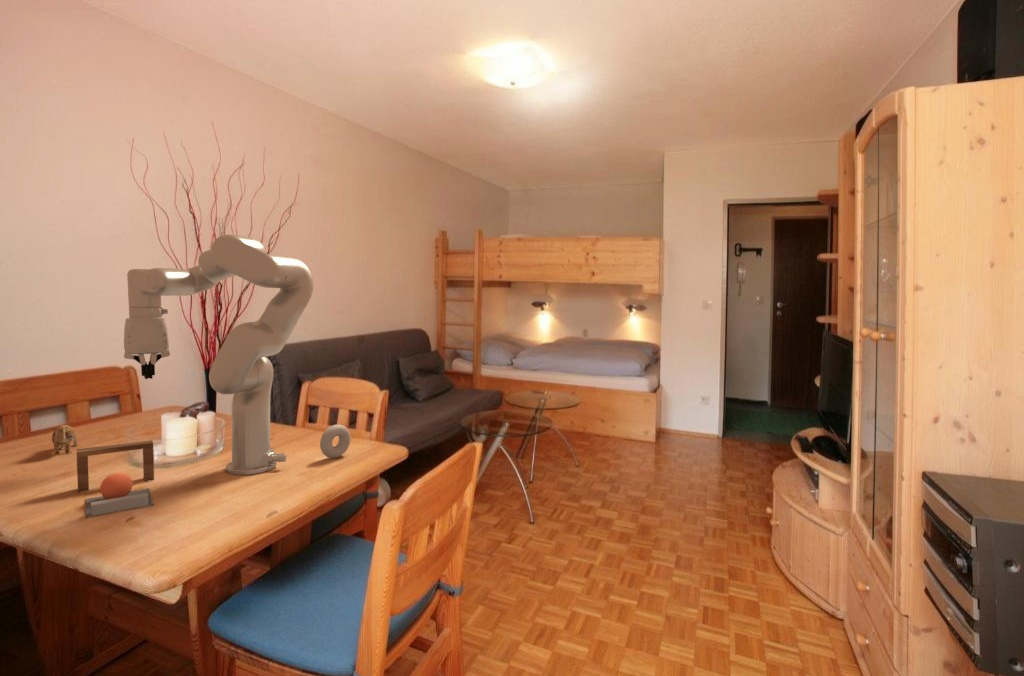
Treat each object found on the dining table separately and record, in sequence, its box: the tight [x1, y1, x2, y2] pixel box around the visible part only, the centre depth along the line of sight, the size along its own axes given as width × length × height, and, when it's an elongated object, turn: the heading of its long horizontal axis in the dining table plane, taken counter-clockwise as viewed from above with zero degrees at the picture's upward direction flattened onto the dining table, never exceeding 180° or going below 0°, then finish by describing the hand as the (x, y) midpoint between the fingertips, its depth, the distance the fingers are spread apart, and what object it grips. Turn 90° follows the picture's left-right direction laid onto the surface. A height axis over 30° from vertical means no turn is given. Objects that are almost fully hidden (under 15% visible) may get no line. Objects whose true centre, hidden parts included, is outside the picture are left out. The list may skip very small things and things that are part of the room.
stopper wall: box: [91, 493, 149, 517], centre depth 116 cm, size 2×10×2 cm, turn 129°
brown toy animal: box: [51, 424, 78, 457], centre depth 155 cm, size 15×5×9 cm, turn 37°
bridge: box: [76, 439, 155, 493], centre depth 131 cm, size 3×15×10 cm, turn 128°
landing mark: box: [85, 488, 154, 519], centre depth 120 cm, size 12×12×1 cm
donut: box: [319, 424, 351, 459], centre depth 157 cm, size 10×4×10 cm, turn 146°
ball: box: [99, 472, 133, 499], centre depth 122 cm, size 6×6×6 cm
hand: (148, 378), depth 149 cm, fingers closed
